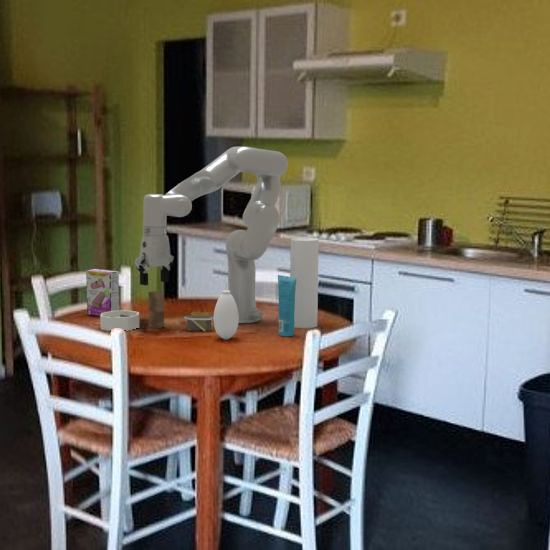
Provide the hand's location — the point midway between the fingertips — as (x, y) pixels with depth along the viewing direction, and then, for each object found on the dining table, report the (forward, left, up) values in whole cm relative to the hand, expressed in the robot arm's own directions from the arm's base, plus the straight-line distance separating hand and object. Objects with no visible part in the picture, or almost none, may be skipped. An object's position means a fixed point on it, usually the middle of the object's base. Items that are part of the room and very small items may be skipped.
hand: (154, 283), depth 268 cm
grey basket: (-15, -5, -16) cm, 22 cm away
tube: (-41, -17, -15) cm, 47 cm away
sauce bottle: (-29, -1, -15) cm, 33 cm away
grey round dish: (+10, +7, -15) cm, 19 cm away
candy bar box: (+29, -3, -15) cm, 33 cm away
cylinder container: (-37, -33, -15) cm, 52 cm away
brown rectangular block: (0, -1, -15) cm, 15 cm away
